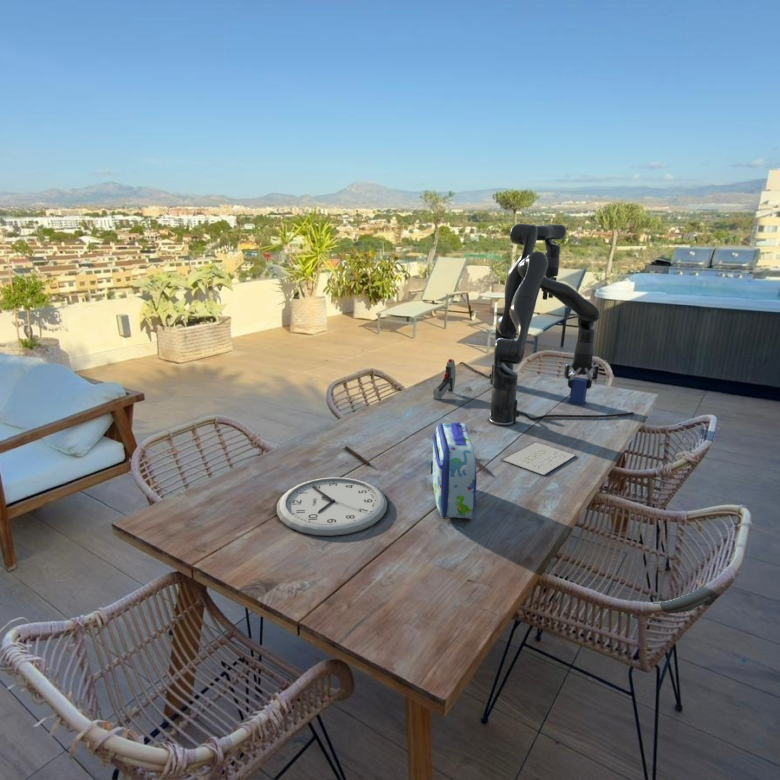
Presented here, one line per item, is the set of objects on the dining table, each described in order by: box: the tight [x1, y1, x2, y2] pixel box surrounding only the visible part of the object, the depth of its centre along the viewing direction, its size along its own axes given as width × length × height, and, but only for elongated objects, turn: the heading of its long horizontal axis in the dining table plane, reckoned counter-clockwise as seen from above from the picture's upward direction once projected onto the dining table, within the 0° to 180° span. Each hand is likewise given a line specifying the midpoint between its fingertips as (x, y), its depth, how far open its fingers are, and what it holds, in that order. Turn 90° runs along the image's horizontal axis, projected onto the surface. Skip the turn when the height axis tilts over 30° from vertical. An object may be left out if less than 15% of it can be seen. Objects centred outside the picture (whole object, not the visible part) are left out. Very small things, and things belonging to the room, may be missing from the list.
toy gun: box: [433, 358, 456, 400], centre depth 235 cm, size 2×16×15 cm
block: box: [568, 376, 588, 406], centre depth 230 cm, size 4×6×11 cm
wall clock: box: [276, 476, 388, 537], centre depth 142 cm, size 30×2×30 cm
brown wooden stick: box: [344, 445, 370, 465], centre depth 173 cm, size 15×1×1 cm, turn 34°
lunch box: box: [430, 422, 478, 520], centre depth 143 cm, size 26×11×21 cm, turn 179°
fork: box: [475, 459, 488, 474], centre depth 169 cm, size 3×16×2 cm, turn 15°
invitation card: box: [502, 442, 577, 476], centre depth 174 cm, size 21×1×15 cm
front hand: (578, 387), depth 229 cm, fingers closed on block, 7 cm apart
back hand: (547, 298), depth 267 cm, fingers open, 8 cm apart
